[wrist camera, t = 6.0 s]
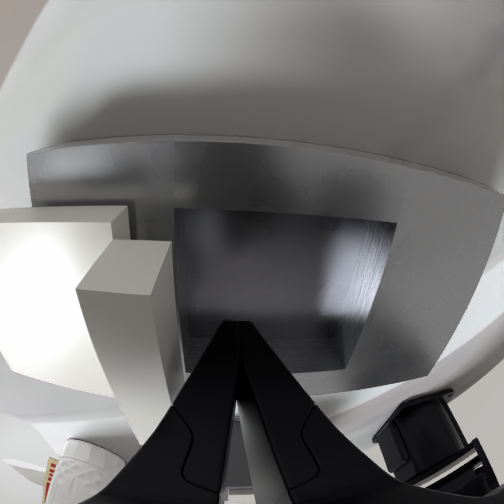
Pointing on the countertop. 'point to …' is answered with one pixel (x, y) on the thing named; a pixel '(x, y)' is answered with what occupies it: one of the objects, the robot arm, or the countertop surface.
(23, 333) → the panel
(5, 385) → the countertop surface
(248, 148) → the socket plate
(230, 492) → the plug
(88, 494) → the white cup
